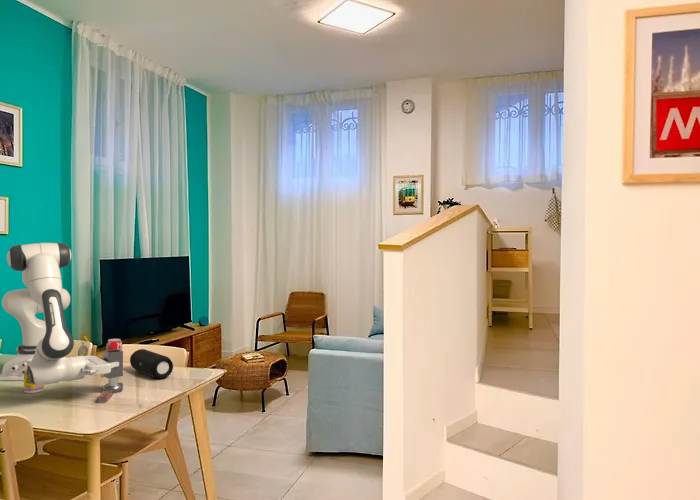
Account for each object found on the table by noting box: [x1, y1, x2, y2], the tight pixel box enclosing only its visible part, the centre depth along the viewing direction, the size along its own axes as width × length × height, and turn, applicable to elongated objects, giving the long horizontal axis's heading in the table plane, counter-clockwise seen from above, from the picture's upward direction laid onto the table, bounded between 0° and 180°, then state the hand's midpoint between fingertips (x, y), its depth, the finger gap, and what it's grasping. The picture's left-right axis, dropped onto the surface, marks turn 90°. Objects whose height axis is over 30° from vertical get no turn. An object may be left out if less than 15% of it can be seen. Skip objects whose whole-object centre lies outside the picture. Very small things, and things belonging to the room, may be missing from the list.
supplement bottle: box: [23, 359, 45, 394], centre depth 197 cm, size 7×7×13 cm
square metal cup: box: [103, 349, 124, 379], centre depth 197 cm, size 6×6×10 cm
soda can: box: [105, 338, 123, 351], centre depth 241 cm, size 7×7×12 cm
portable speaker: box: [129, 348, 174, 380], centre depth 223 cm, size 26×10×10 cm, turn 48°
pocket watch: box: [77, 340, 89, 356], centre depth 249 cm, size 8×8×10 cm
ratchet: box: [97, 377, 124, 404], centre depth 192 cm, size 7×18×6 cm, turn 11°
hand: (115, 362), depth 198 cm, fingers closed on square metal cup, 6 cm apart
